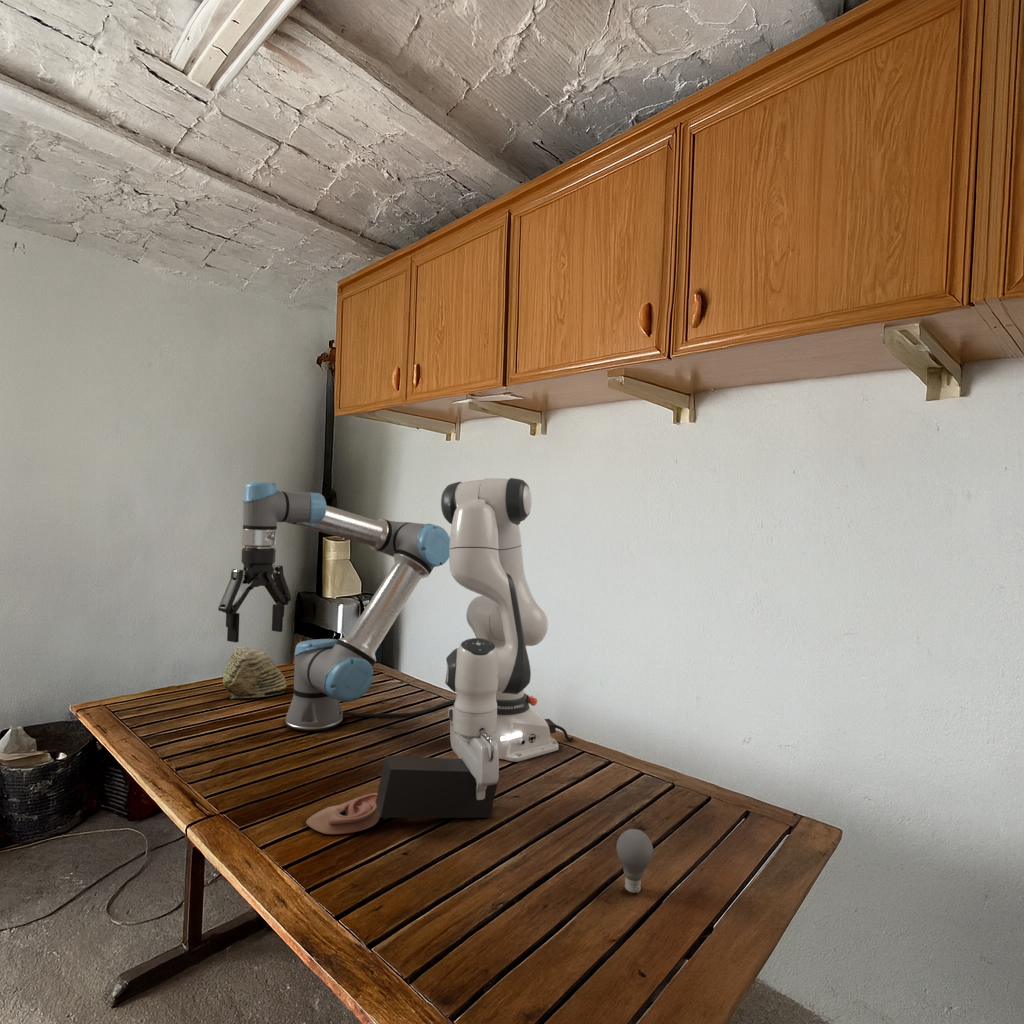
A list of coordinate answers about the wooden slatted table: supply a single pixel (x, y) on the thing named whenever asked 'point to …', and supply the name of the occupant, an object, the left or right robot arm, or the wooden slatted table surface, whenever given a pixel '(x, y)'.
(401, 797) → the bar
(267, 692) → the fossil
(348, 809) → the anatomical model
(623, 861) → the light bulb
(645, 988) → the wooden slatted table surface
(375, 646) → the left robot arm
